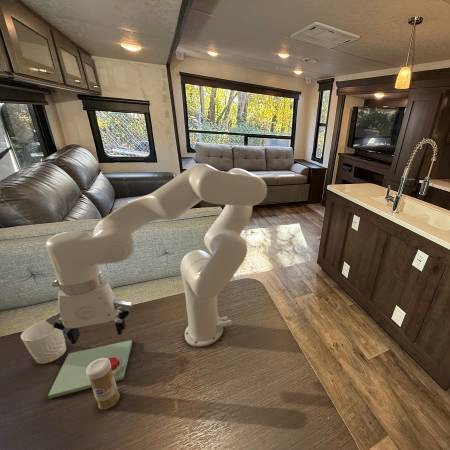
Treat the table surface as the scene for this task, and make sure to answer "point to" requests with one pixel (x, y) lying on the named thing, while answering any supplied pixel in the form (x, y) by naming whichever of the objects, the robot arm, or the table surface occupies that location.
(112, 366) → the button
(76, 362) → the scale
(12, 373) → the table surface
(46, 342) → the white cup
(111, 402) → the sprinkles bottle
